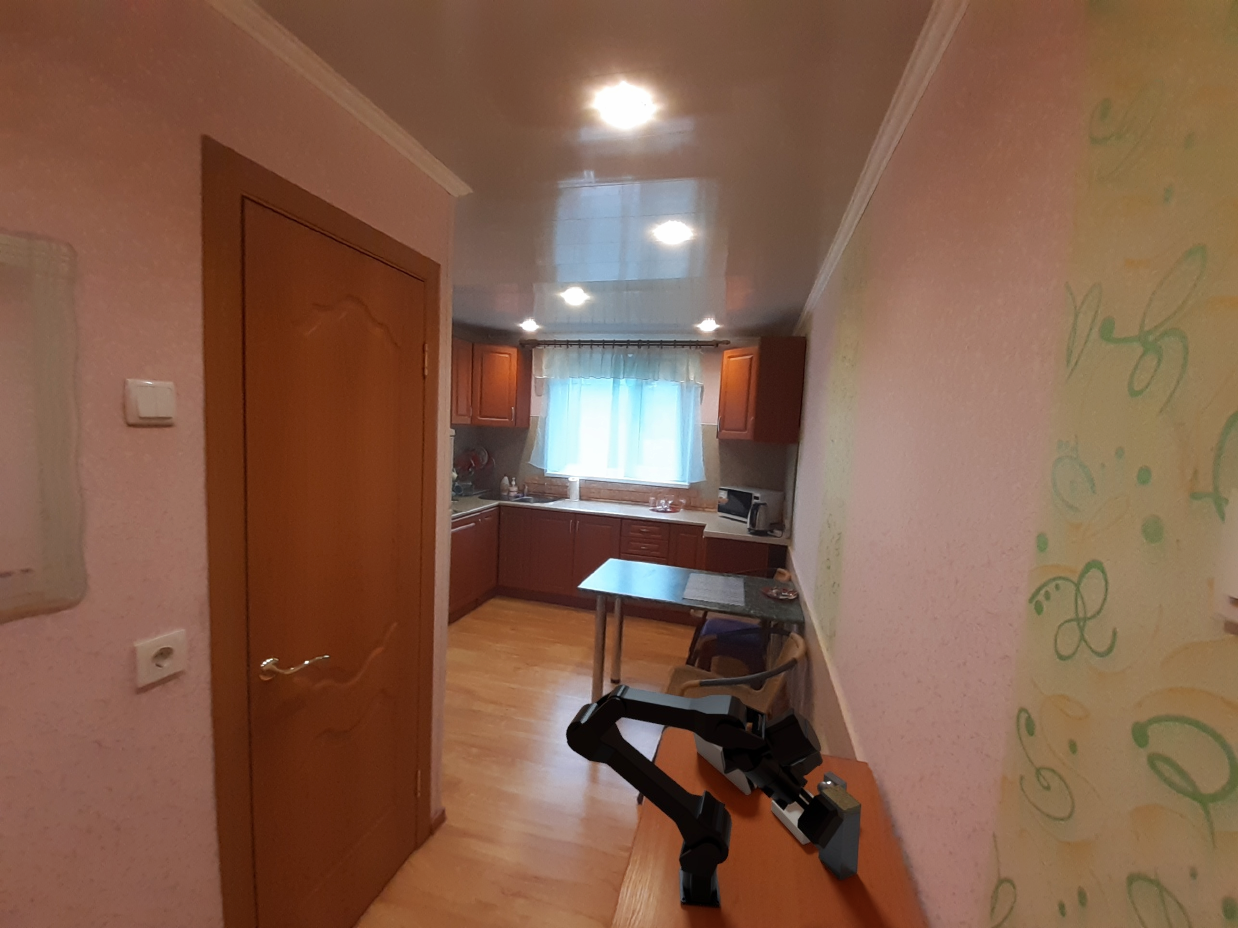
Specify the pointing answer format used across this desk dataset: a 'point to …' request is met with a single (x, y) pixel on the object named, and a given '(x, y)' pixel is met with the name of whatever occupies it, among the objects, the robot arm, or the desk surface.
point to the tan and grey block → (843, 835)
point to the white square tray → (791, 817)
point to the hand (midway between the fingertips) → (814, 812)
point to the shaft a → (831, 782)
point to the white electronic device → (714, 758)
